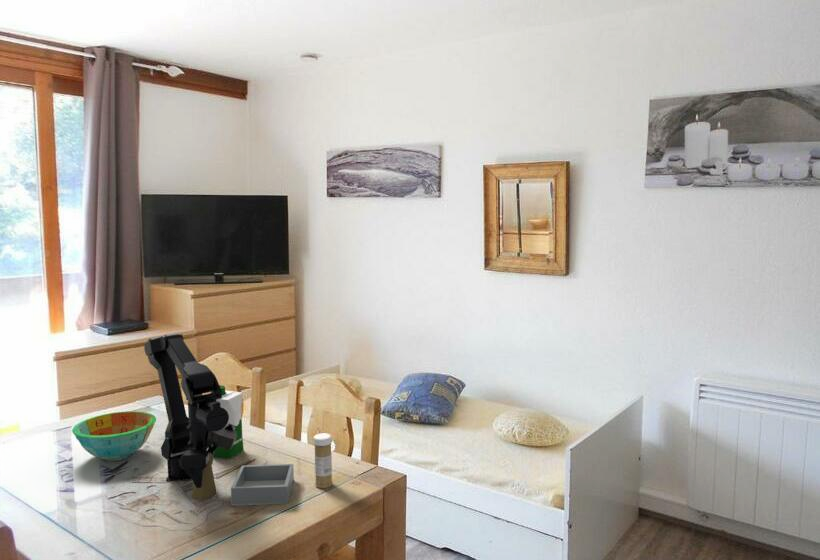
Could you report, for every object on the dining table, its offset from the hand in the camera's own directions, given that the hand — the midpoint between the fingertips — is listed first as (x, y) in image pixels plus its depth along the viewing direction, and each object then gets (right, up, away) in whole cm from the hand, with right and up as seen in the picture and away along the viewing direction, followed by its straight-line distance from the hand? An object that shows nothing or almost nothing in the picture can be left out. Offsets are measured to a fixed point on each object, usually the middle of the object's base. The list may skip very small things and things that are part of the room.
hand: (203, 479), depth 161 cm
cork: (0, -4, 0) cm, 4 cm away
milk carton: (-2, -1, +27) cm, 27 cm away
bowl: (-34, -1, +26) cm, 43 cm away
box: (+15, -4, +2) cm, 16 cm away
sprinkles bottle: (+30, -3, +6) cm, 30 cm away
